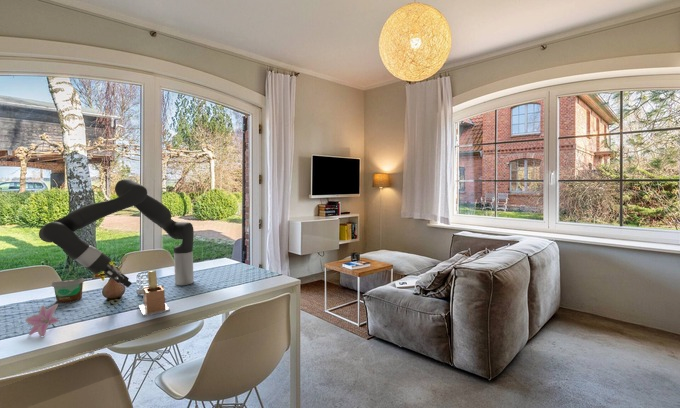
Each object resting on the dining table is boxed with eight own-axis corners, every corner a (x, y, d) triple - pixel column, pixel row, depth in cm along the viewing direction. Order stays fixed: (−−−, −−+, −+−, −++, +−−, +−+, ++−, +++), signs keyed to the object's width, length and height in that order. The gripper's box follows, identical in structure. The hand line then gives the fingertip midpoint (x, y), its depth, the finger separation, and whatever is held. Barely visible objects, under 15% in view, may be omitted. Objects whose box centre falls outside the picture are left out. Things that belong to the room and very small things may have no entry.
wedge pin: (149, 297, 150) (146, 271, 150) (157, 295, 152) (155, 270, 152) (150, 298, 147) (148, 272, 147) (158, 296, 149) (156, 271, 149)
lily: (26, 333, 131) (13, 316, 126) (61, 312, 140) (50, 296, 134) (39, 350, 126) (27, 333, 121) (75, 327, 134) (65, 311, 129)
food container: (49, 306, 156) (47, 284, 155) (53, 301, 161) (51, 280, 160) (83, 301, 162) (81, 280, 161) (85, 297, 167) (84, 277, 166)
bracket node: (138, 307, 154) (137, 286, 154) (163, 302, 161) (162, 282, 160) (143, 316, 144) (142, 294, 143) (169, 310, 150) (168, 289, 149)
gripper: (102, 254, 131) (138, 279, 139) (99, 248, 142) (133, 272, 150) (85, 270, 128) (123, 295, 136) (84, 263, 139) (119, 286, 147)
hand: (128, 282), depth 143 cm, fingers open, 8 cm apart
